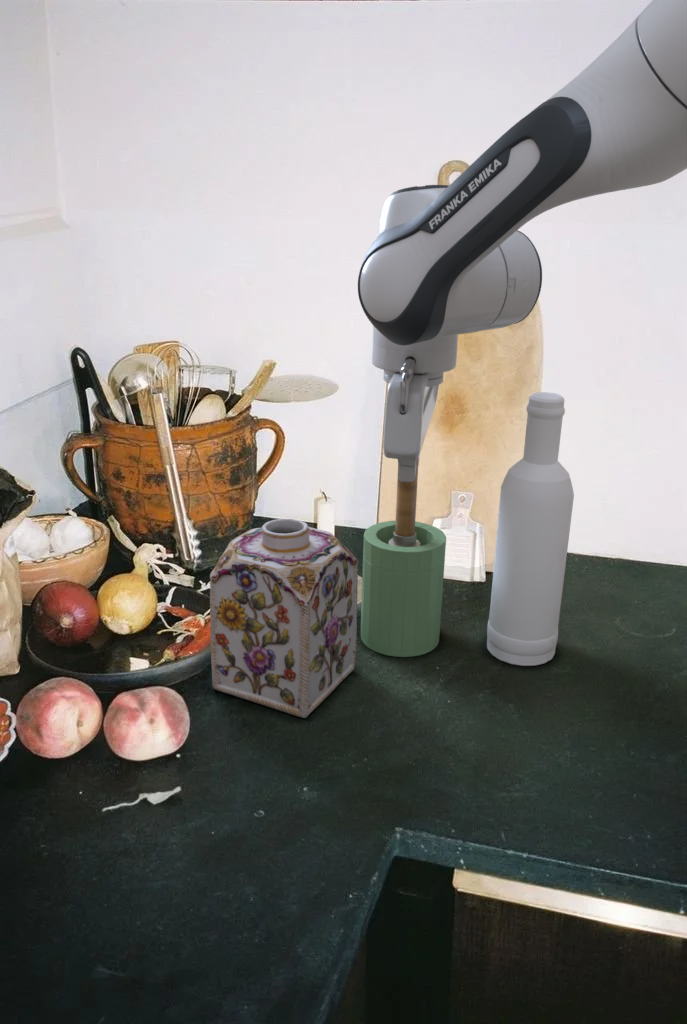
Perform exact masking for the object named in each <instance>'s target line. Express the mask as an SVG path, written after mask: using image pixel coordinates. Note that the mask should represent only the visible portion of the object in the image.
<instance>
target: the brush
mask: <svg viewBox="0 0 687 1024" xmlns="http://www.w3.org/2000/svg"><path fill="white" fill-rule="evenodd" d="M418 462H419V463H420V457H419V458H418V459H417V460H416V476H415V479H414V481H413V482H402V481H400V480H399V479H398V478H396V479H397V483H396V502H395V503H396V504H395V521H396V524H395V531H394V532H393V538H392V539H390V540H389V542H388V544H389V545H393V546H401V547H417V546H420V542H419V541H418V540H417V539H416V532H415V522H416V517H417V516H416V515H417V499H418V498H417V497H418V496H417V495H418V480H419V479H418V478H419V477H418V475H419V466H418ZM398 467H399V466H398V465H397V468H398Z"/></svg>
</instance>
